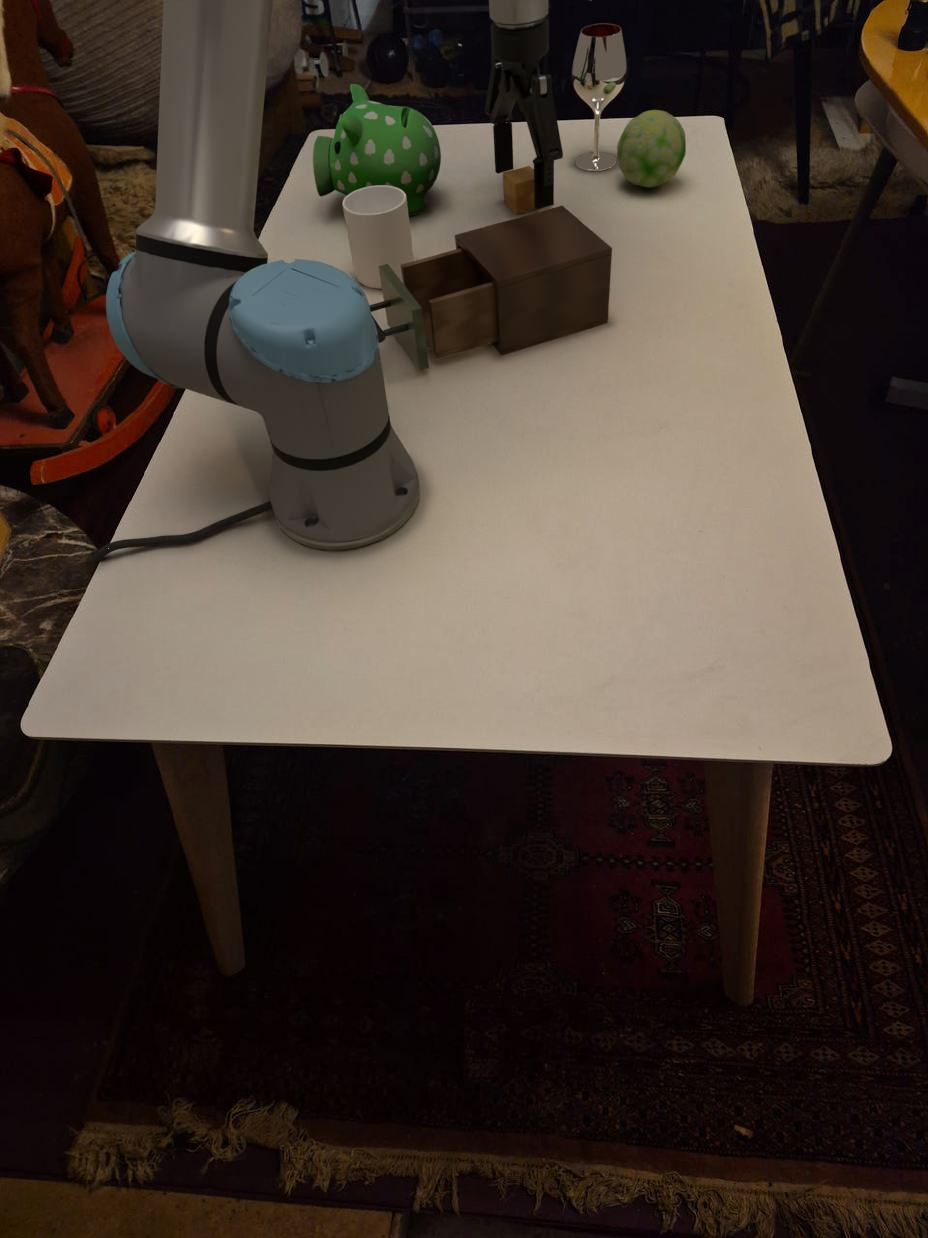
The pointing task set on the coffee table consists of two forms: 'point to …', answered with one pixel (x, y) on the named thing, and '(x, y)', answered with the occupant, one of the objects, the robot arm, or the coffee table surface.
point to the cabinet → (542, 276)
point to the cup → (378, 231)
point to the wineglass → (599, 80)
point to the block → (519, 189)
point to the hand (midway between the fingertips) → (523, 187)
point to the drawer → (438, 306)
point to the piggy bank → (378, 151)
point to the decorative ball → (651, 148)
